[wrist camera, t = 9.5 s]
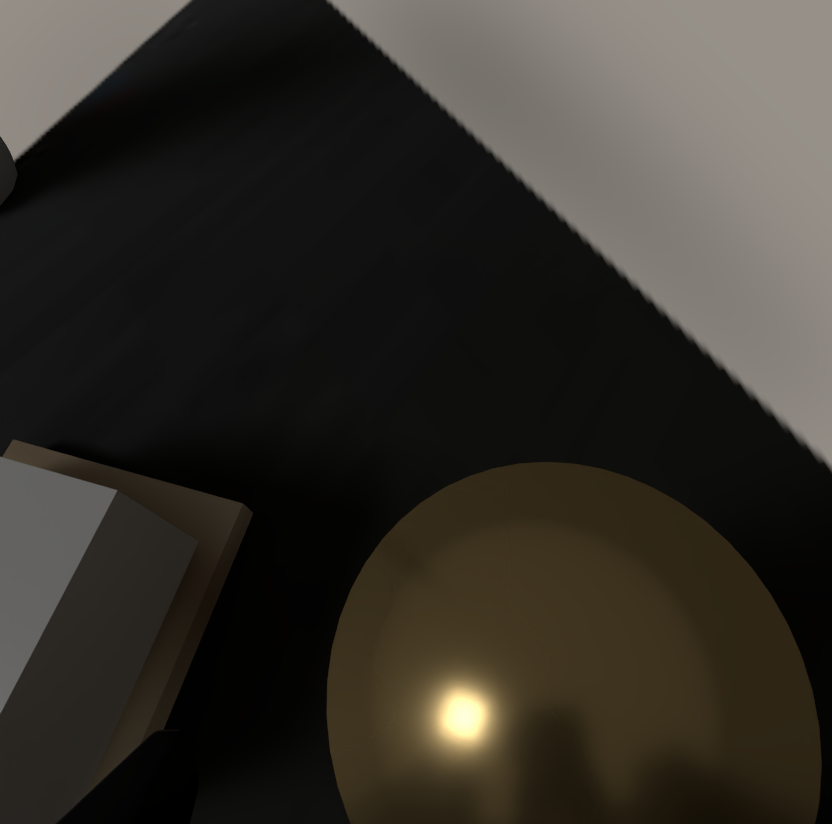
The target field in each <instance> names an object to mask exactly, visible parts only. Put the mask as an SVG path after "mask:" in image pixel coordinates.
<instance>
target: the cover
mask: <svg viewBox="0 0 832 824" xmlns="http://www.w3.org/2000/svg"><path fill="white" fill-rule="evenodd" d="M198 542H199V541H197V540H196V539H194V538H193V537H191V536H189V535H188V534H186V533H185V532H183V531H181V530H180V529H178V528H177V527H175V526H173V525H172V524H170V523H169V522H167V521H166V520H164V519H162V518H161V517H159V516H158V515H156V514H154V513H153V512H151V511H150V510H148V509H146V508H145V507H143V506H142V505H140V504H139V503H137V502H135V501H134V500H132V499H131V498H129V497H127V496H126V495H124V494H123V493H121V492H119V491H118V490H115V489H111V488H108V487H104V486H101V485H97V484H94V483H90V482H87V481H83V480H80V479H76V478H73V477H69V476H66V475H62V474H59V473H55V472H52V471H48V470H45V469H41V468H38V467H34V466H31V465H27V464H24V463H20V462H17V461H13V460H10V459H6V458H3V457H0V824H55V823H56V822H57V821H58V820H59V819H61V818H62V817H63V816H64V815H65V814H66V813H67V812H68V811H69V810H70V809H71V808H72V807H73V806H74V805H76V804H77V803H78V802H79V801H80V800H81V799H82V798H83V797H84V796H85V795H86V793H87V791H88V788H89V786H90V784H91V782H92V779H93V777H94V775H95V773H96V770H97V768H98V766H99V764H100V761H101V759H102V757H103V755H104V753H105V750H106V748H107V746H108V744H109V741H110V739H111V737H112V735H113V732H114V730H115V728H116V726H117V723H118V721H119V719H120V717H121V714H122V712H123V710H124V708H125V705H126V703H127V701H128V699H129V697H130V694H131V692H132V690H133V688H134V685H135V683H136V681H137V679H138V676H139V674H140V672H141V670H142V667H143V665H144V663H145V661H146V658H147V656H148V654H149V652H150V649H151V647H152V645H153V643H154V641H155V638H156V636H157V634H158V632H159V629H160V627H161V625H162V623H163V620H164V618H165V616H166V614H167V611H168V609H169V607H170V605H171V602H172V600H173V598H174V596H175V593H176V591H177V589H178V587H179V585H180V582H181V580H182V578H183V576H184V573H185V571H186V569H187V567H188V564H189V562H190V560H191V558H192V555H193V553H194V551H195V549H196V546H197V544H198Z"/></svg>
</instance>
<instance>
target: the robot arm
mask: <svg viewBox="0 0 832 824" xmlns="http://www.w3.org/2000/svg"><path fill="white" fill-rule="evenodd" d="M198 785H199V774H198V768H197V764H196V760H195V757H194V753H193V749H192V745H191V741H190V737H189V734H188V733H187V732H186V731H185V730H182V729H171V730H158V731H155V732H154V733H152V734H151V735H150V736H149V737H147V738H146V739H145V740H144V741H143V742H142V743H141V744H140V745H139V746H138V747H137V748H136V749H135V750H133V751H132V752H131V753H130V754H129V755H128V756H127V757H126V758H125V759H124V760H123V761H122V762H121V763H120V764H118V765H117V766H116V767H115V768H114V769H113V770H112V771H111V772H110V773H109V774H108V775H107V776H106V777H105V778H103V779H102V780H101V781H100V782H99V783H98V784H97V785H96V786H95V787H94V788H93V789H92V790H91V791H90V792H88V793H87V794H86V795H85V796H84V797H83V798H82V799H81V800H80V801H79V802H78V803H77V804H76V805H74V806H73V807H72V808H71V809H70V810H69V811H68V812H67V813H66V814H65V815H64V816H63V817H62V818H61V819H59V820H58V821H57V822H56V823H55V824H190V820H191V816H192V812H193V808H194V804H195V800H196V796H197V791H198Z"/></svg>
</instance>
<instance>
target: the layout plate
mask: <svg viewBox="0 0 832 824" xmlns="http://www.w3.org/2000/svg"><path fill="white" fill-rule="evenodd" d="M3 458H6V459H10V460H13V461H17V462H20V463H24V464H27V465H31V466H34V467H38V468H41V469H45V470H48V471H52V472H55V473H59V474H62V475H66V476H69V477H73V478H76V479H80V480H83V481H87V482H90V483H94V484H97V485H101V486H104V487H108V488H111V489H115V490H118V491H119V492H121V493H123V494H124V495H126V496H127V497H129V498H131V499H132V500H134V501H135V502H137V503H139V504H140V505H142V506H143V507H145V508H146V509H148V510H150V511H151V512H153V513H154V514H156V515H158V516H159V517H161V518H162V519H164V520H166V521H167V522H169V523H170V524H172V525H173V526H175V527H177V528H178V529H180V530H181V531H183V532H185V533H186V534H188V535H189V536H191V537H193V538H194V539H196V540H197V541H199V542H198V544H197V546H196V549H195V551H194V553H193V555H192V558H191V560H190V562H189V564H188V567H187V569H186V571H185V573H184V576H183V578H182V580H181V582H180V585H179V587H178V589H177V591H176V593H175V596H174V598H173V600H172V602H171V605H170V607H169V609H168V611H167V614H166V616H165V618H164V620H163V623H162V625H161V627H160V629H159V632H158V634H157V636H156V638H155V641H154V643H153V645H152V647H151V649H150V652H149V654H148V656H147V658H146V661H145V663H144V665H143V667H142V670H141V672H140V674H139V676H138V679H137V681H136V683H135V685H134V688H133V690H132V692H131V694H130V697H129V699H128V701H127V703H126V705H125V708H124V710H123V712H122V714H121V717H120V719H119V721H118V723H117V726H116V728H115V730H114V732H113V735H112V737H111V739H110V741H109V744H108V746H107V748H106V750H105V753H104V755H103V757H102V759H101V761H100V764H99V766H98V768H97V770H96V773H95V775H94V777H93V779H92V782H91V784H90V786H89V788H88V791H87V793H88V792H90V791H91V790H92V789H93V788H94V787H95V786H96V785H97V784H98V783H99V782H100V781H101V780H102V779H103V778H105V777H106V776H107V775H108V774H109V773H110V772H111V771H112V770H113V769H114V768H115V767H116V766H117V765H118V764H120V763H121V762H122V761H123V760H124V759H125V758H126V757H127V756H128V755H129V754H130V753H131V752H132V751H133V750H135V749H136V748H137V747H138V746H139V745H140V744H141V743H142V742H143V741H144V740H145V739H146V738H147V737H149V736H150V735H151V734H152V733H154V732H155V731H158V730H164V727H165V725H166V722H167V720H168V718H169V715H170V713H171V710H172V708H173V705H174V703H175V701H176V698H177V696H178V693H179V691H180V689H181V686H182V684H183V681H184V679H185V677H186V674H187V672H188V669H189V667H190V665H191V662H192V660H193V657H194V655H195V653H196V650H197V648H198V645H199V643H200V640H201V638H202V636H203V633H204V631H205V628H206V626H207V624H208V621H209V619H210V616H211V614H212V612H213V609H214V607H215V604H216V602H217V600H218V597H219V595H220V592H221V590H222V588H223V585H224V583H225V580H226V578H227V575H228V573H229V571H230V568H231V566H232V563H233V561H234V559H235V556H236V554H237V551H238V549H239V547H240V544H241V542H242V539H243V537H244V535H245V532H246V530H247V527H248V525H249V523H250V520H251V518H252V515H253V512H251V511H250V510H249V509H248V508H247V507H246V506H245V505H244V504H243V503H239V502H236V501H232V500H229V499H225V498H221V497H218V496H214V495H211V494H207V493H203V492H200V491H196V490H193V489H189V488H185V487H182V486H178V485H175V484H171V483H167V482H164V481H160V480H157V479H153V478H149V477H146V476H142V475H139V474H135V473H131V472H128V471H124V470H121V469H117V468H113V467H110V466H106V465H103V464H99V463H95V462H92V461H88V460H85V459H81V458H77V457H74V456H70V455H67V454H63V453H59V452H56V451H52V450H49V449H45V448H41V447H38V446H34V445H31V444H27V443H23V442H20V441H16V440H13V441H12V443H11V444H10V446H9V447H8V449H7V451H6V452H5V454H4V455H3ZM87 793H86V794H87Z"/></svg>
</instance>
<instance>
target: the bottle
mask: <svg viewBox="0 0 832 824" xmlns="http://www.w3.org/2000/svg"><path fill="white" fill-rule="evenodd" d="M17 175H18V173H17V170H16V167H15V164H14V161H13V158H12V156H11V153H10V151H9V149H8V148H7V146H6V144H5V143H4V141H3V140H2V138H1V137H0V205H1V204H2V203H3V202H4V201H5V199H6V198H7V197H8V196H9V194H10V193H11V192H12V191H13V189H14V185H15V182H16V178H17Z"/></svg>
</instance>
